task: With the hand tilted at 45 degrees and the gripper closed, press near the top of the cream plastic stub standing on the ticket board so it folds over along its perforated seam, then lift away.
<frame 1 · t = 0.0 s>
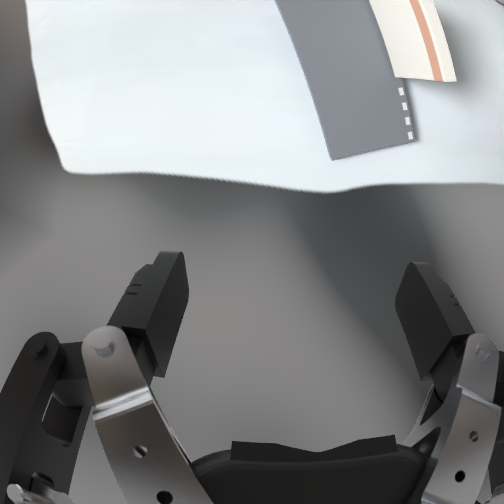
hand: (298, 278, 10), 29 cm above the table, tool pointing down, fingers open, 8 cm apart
ticket board: (383, 33, 25), on the table
ticket stub: (405, 25, 19), point 8 cm above the table, hinge at 0.0°
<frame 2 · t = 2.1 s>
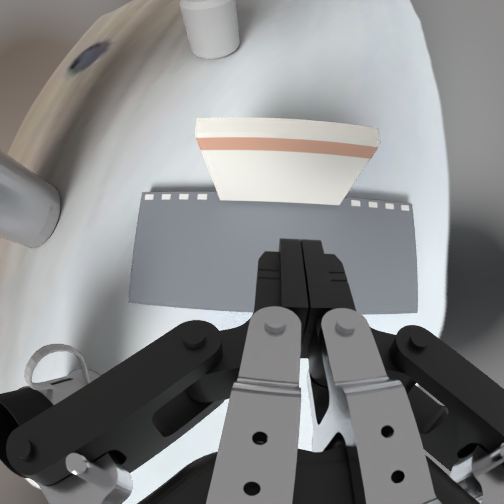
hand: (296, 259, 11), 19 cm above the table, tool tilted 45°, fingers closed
ticket board: (279, 198, 31), on the table
ticket stub: (284, 168, 23), point 8 cm above the table, hinge at 0.0°
glass holder: (97, 386, 28), on the table
can: (216, 49, 37), on the table
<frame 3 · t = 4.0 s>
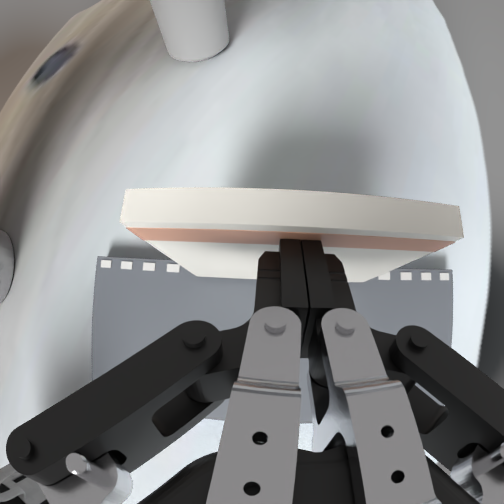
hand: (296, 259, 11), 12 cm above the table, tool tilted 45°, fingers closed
ticket board: (280, 267, 23), on the table
ticket stub: (289, 252, 15), point 8 cm above the table, hinge at 2.0°, touching gripper
glass holder: (74, 466, 19), on the table
can: (199, 48, 28), on the table
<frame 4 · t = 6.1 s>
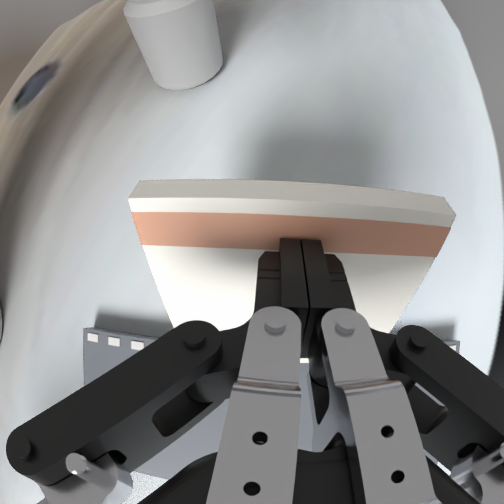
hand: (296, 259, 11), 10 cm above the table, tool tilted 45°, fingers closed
ticket board: (277, 347, 20), on the table
ticket stub: (288, 299, 14), point 7 cm above the table, hinge at 34.9°, touching gripper
can: (189, 71, 26), on the table
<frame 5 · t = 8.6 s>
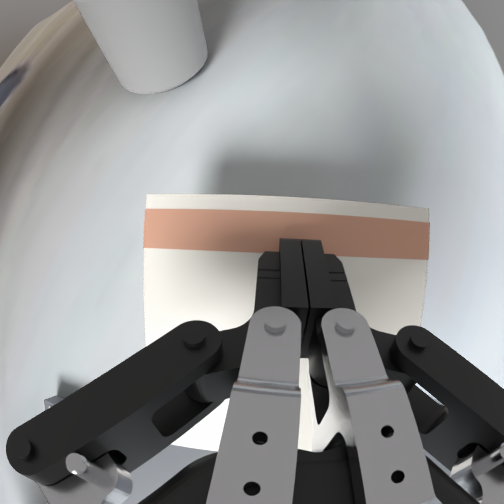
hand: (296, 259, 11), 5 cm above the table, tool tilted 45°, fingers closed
ticket board: (273, 437, 14), on the table
ticket stub: (286, 343, 12), point 4 cm above the table, hinge at 76.7°, touching gripper
can: (165, 70, 20), on the table
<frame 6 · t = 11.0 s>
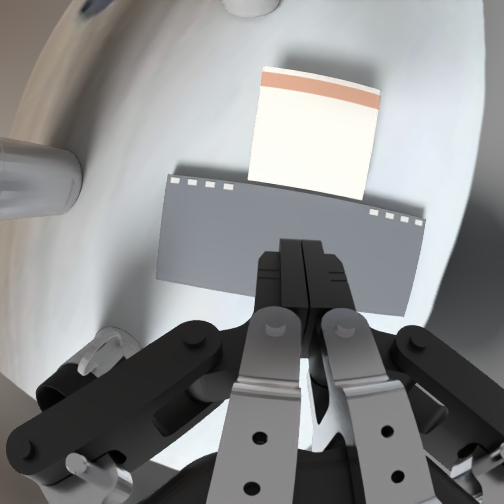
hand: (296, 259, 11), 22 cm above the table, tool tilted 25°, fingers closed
ticket board: (302, 193, 32), on the table
ticket stub: (315, 131, 27), point 4 cm above the table, hinge at 76.7°
glass holder: (125, 341, 36), on the table
can: (251, 3, 28), on the table
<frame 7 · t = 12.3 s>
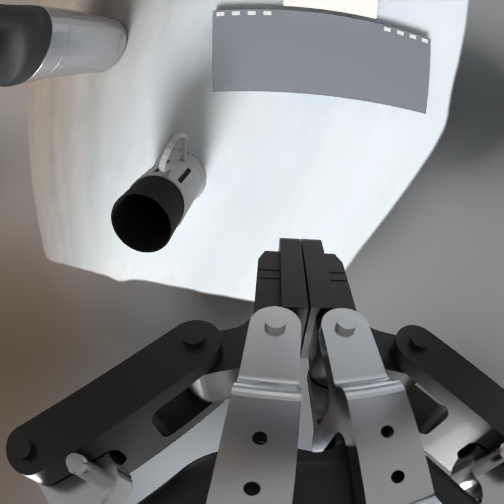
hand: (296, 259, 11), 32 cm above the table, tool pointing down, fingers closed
ticket board: (327, 16, 28), on the table
glass holder: (184, 161, 41), on the table
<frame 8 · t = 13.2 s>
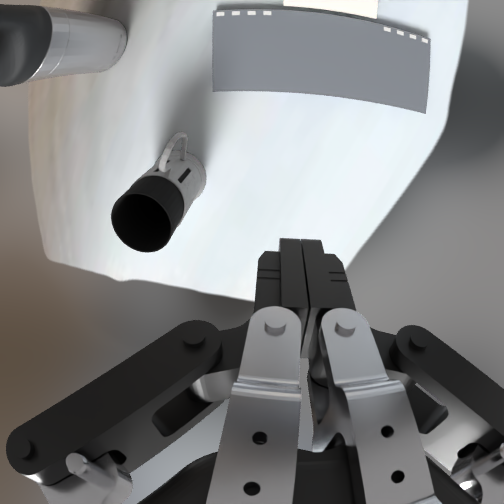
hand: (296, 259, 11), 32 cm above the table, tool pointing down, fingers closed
ticket board: (327, 16, 28), on the table
glass holder: (184, 161, 41), on the table
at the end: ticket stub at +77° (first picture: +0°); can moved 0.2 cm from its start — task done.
